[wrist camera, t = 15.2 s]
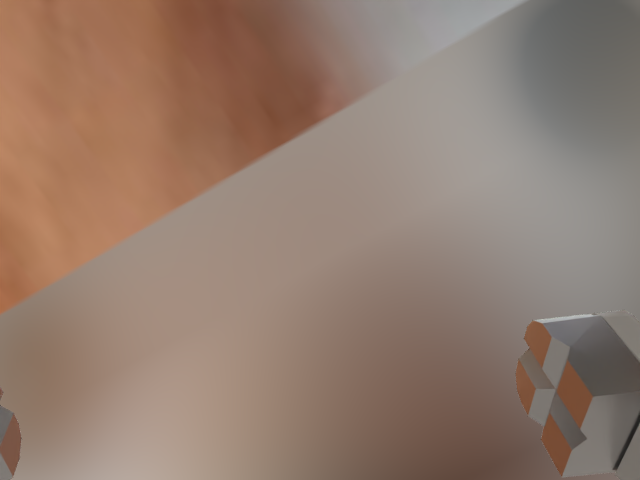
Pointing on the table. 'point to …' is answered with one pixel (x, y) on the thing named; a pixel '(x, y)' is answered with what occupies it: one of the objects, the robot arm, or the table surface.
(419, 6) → the table surface
